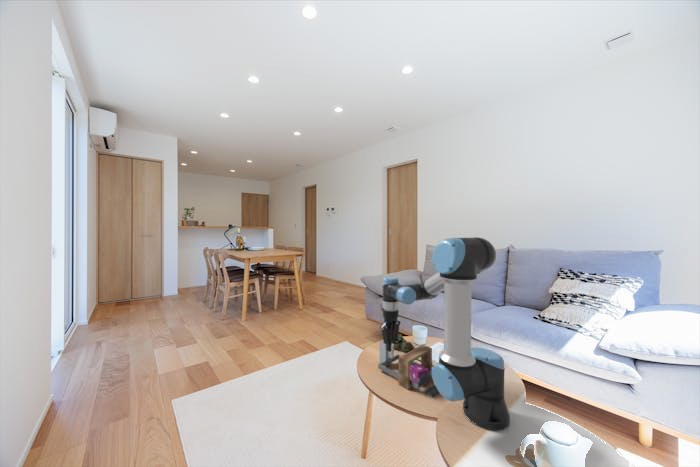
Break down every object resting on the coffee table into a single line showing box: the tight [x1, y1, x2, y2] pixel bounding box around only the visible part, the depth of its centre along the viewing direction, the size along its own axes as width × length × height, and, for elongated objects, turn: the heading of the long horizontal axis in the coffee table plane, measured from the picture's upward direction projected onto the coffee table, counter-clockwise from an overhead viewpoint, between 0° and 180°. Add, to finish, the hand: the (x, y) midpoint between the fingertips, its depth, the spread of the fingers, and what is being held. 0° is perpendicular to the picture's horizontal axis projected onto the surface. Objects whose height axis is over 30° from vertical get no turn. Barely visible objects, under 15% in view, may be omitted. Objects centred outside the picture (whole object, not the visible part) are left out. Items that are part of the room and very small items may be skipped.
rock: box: [394, 333, 415, 353], centre depth 153 cm, size 13×10×10 cm
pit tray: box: [424, 384, 440, 398], centre depth 114 cm, size 4×12×1 cm, turn 132°
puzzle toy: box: [410, 363, 430, 384], centre depth 120 cm, size 6×6×6 cm
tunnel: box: [398, 344, 433, 391], centre depth 121 cm, size 5×18×12 cm, turn 132°
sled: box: [377, 339, 433, 389], centre depth 126 cm, size 26×15×11 cm, turn 42°
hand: (390, 356), depth 132 cm, fingers closed
